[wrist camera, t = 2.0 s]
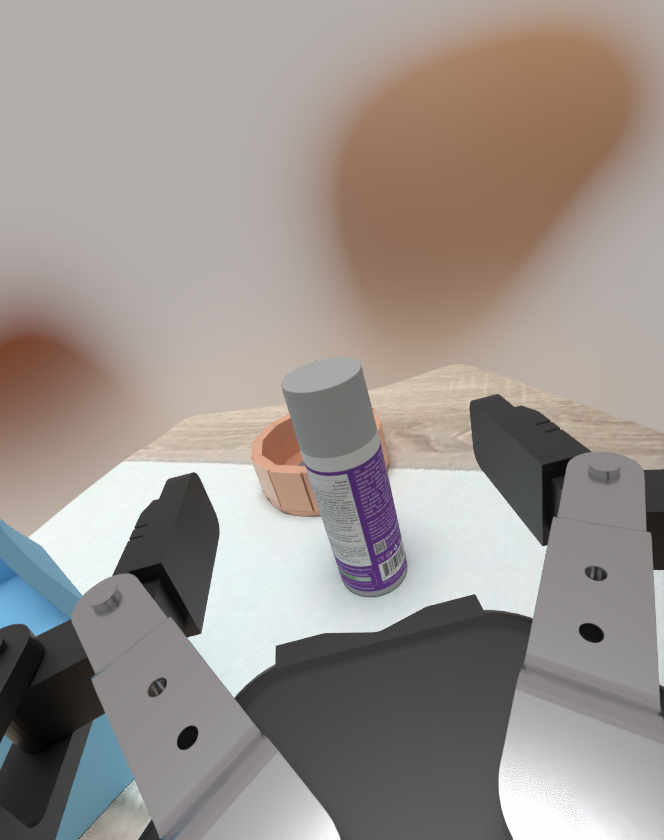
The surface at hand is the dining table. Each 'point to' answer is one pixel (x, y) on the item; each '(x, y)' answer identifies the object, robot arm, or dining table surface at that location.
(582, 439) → the dining table surface
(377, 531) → the container
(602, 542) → the robot arm
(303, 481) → the faceted terracotta pot
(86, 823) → the vase
